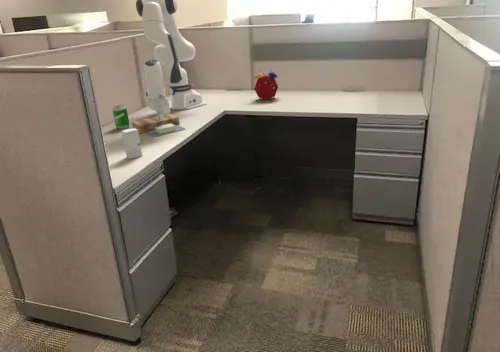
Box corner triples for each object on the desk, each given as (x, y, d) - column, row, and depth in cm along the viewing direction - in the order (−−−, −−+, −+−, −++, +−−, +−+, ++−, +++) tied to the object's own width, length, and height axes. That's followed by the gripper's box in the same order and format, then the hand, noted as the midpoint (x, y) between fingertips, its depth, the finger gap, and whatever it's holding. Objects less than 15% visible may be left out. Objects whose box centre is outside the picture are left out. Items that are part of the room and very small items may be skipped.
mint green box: (175, 125, 216) (176, 130, 217) (170, 123, 220) (171, 127, 221) (159, 129, 211) (160, 134, 212) (154, 127, 216) (155, 131, 217)
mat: (176, 125, 226) (176, 124, 226) (185, 129, 218) (185, 128, 218) (145, 132, 217) (145, 132, 217) (153, 137, 209) (153, 136, 209)
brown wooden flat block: (170, 120, 237) (169, 113, 235) (179, 124, 228) (178, 117, 226) (133, 129, 226) (131, 121, 225) (141, 133, 217) (139, 126, 215)
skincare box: (129, 159, 181) (124, 132, 177) (126, 156, 185) (120, 130, 180) (143, 155, 184) (138, 129, 180) (139, 153, 188) (134, 127, 183)
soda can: (121, 125, 236) (117, 104, 231) (132, 125, 233) (128, 104, 228) (113, 129, 229) (108, 107, 224) (124, 129, 226) (120, 108, 222)
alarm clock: (278, 97, 269) (277, 65, 261) (278, 100, 261) (276, 67, 253) (256, 98, 271) (253, 67, 263) (254, 101, 263) (252, 69, 255)
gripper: (171, 95, 206) (175, 122, 211) (155, 90, 222) (159, 115, 227) (159, 97, 203) (163, 125, 208) (143, 92, 219) (148, 118, 224)
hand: (161, 120), depth 218 cm, fingers closed
